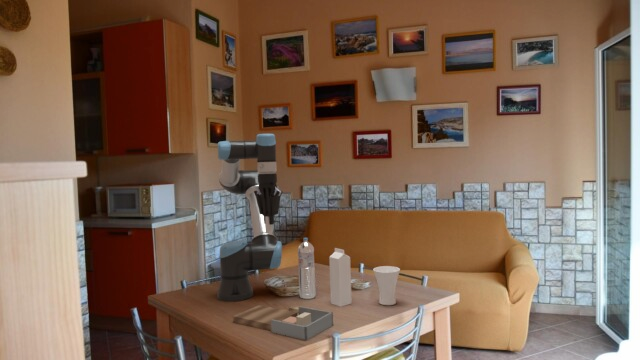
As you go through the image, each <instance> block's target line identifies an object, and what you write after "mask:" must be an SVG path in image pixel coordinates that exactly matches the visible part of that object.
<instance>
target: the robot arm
mask: <svg viewBox="0 0 640 360" xmlns="http://www.w3.org/2000/svg"><path fill="white" fill-rule="evenodd" d="M276 145H277V141H276V135H275V134H274V133H258V134H257V135H256V138H255V140H223V141H219V142H218V143H217V158H218V159H219V160H221V171H220V172H219V174H218V182H219V184H220V186H221V187H222V188H223V189H224V190H225V191H227V192H229V193H231V194H234V195H245V198H246V199H247V200H248V201H249V207H250V208H249V209H250V217H251V218H250V219H251V224H252V225H251V226H252V234H253V238H251V241H250V243H248V241H247V240H244V239H243V240H235V241H234V240H233V241H230V242H227V243H224V244H222V245H221V246H220V247H219V263H220V264H219V266H220V282H219V287H218V290H217V292H216V293H217V295H216V296H217V299H218V300H219V301H223V302H239V301H240V302H241V301H245V300H248V299H249V298H252V297H253V296H254V289H253V287H252V284H251V280H250V277H249V272H251V271H262V270H264V271H265V270H272V269H273V270H274V269H278V268H279V267H281V264H282V254H283V253H282V251H283V245H282V244H283V243H282V241H280V240H278V238H277V236H276V235H275V234H273V233H274V223H275V216H276V215H278V214H279V210H280V209H279V208H280V202H281V196H282V194H283V190H279V188H278V185H277V182H278V174H277V173H276V172H277V171H278V169H277V168H278V167H277V149H276V148H277V147H276ZM251 159H252V160H253V159H257V160H256V163H257V164H256V165H257V167H256V168H257V169H243V170H241V169H240V164H241V163H240V162H241V160H251Z"/></svg>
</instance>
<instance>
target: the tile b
mask: <svg viewBox="0 0 640 360" xmlns="http://www.w3.org/2000/svg"><path fill="white" fill-rule="evenodd" d="M296 324H297V325H301V326H307V325H309V324H311V313H306V312H304V313H302V314H300V315H299V314H297V317H296Z"/></svg>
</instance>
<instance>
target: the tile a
mask: <svg viewBox="0 0 640 360" xmlns="http://www.w3.org/2000/svg"><path fill="white" fill-rule="evenodd" d="M282 322H287V323H292V324H296V317H291V316H290V317H288V318H286V319H284V320H282Z"/></svg>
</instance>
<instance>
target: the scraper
mask: <svg viewBox="0 0 640 360" xmlns="http://www.w3.org/2000/svg"><path fill="white" fill-rule="evenodd" d="M298 307H299V306H296V305H291V306H289V307H288V311H293V312H297V314H299V308H298Z"/></svg>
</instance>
